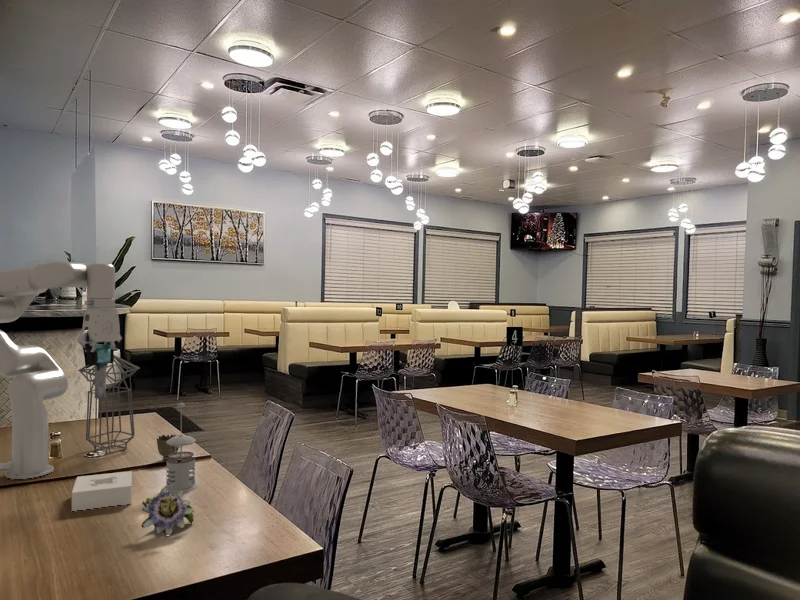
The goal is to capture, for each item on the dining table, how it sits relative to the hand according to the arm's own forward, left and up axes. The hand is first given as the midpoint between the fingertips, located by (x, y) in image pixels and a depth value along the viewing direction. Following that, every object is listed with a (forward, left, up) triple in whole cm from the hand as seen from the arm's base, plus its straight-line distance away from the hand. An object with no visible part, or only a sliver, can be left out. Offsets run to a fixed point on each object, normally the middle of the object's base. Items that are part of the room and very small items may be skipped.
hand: (100, 363), depth 174 cm
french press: (+22, -16, -36) cm, 45 cm away
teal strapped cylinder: (0, 0, -10) cm, 10 cm away
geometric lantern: (+1, +34, -36) cm, 49 cm away
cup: (+20, +14, -36) cm, 43 cm away
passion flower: (+17, -47, -36) cm, 61 cm away
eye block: (+2, -19, -35) cm, 40 cm away
